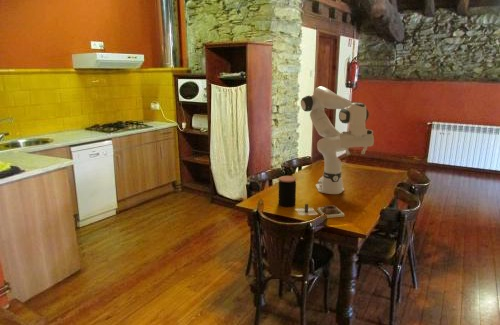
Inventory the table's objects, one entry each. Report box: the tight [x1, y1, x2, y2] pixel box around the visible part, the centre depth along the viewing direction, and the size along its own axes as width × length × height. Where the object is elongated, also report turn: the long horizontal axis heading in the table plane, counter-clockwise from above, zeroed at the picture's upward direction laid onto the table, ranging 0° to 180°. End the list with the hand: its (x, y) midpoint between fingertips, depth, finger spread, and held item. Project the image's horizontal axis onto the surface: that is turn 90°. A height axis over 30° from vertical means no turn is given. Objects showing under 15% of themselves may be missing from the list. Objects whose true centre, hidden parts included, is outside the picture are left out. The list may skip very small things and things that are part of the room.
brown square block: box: [323, 204, 339, 215], centre depth 206 cm, size 6×6×4 cm
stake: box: [294, 203, 320, 217], centre depth 208 cm, size 11×11×6 cm
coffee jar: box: [278, 175, 297, 208], centre depth 219 cm, size 11×11×18 cm
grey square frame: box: [316, 206, 345, 219], centre depth 206 cm, size 12×12×2 cm
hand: (355, 154), depth 207 cm, fingers open, 8 cm apart
